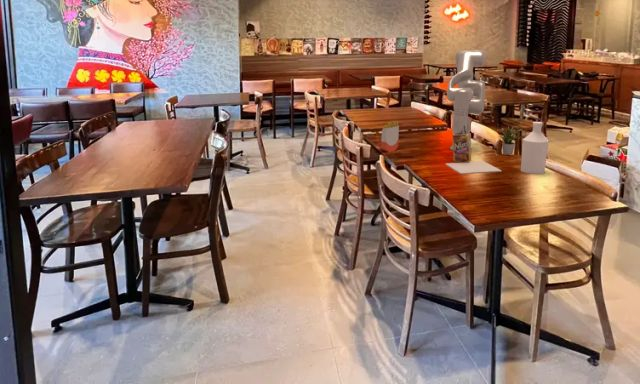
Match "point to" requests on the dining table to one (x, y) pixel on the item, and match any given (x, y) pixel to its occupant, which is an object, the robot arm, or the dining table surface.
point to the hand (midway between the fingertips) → (458, 145)
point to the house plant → (508, 141)
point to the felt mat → (473, 167)
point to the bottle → (534, 151)
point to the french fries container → (390, 137)
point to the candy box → (462, 147)
